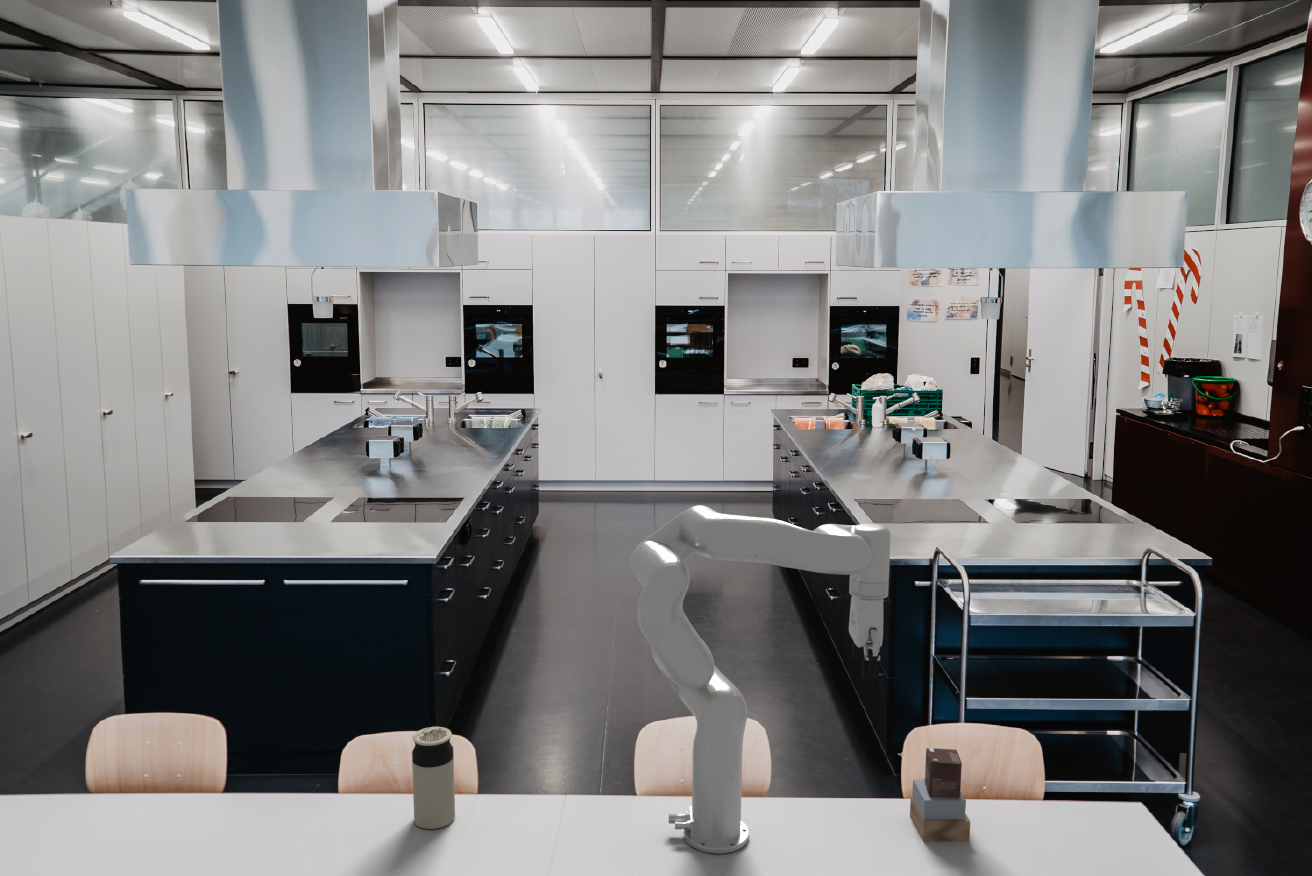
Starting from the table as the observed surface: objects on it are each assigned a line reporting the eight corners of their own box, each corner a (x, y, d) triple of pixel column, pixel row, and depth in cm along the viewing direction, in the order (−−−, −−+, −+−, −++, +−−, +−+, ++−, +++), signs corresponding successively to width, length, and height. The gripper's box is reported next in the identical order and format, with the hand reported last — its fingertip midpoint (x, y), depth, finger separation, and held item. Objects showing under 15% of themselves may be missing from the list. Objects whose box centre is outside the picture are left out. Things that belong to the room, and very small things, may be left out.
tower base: (922, 843, 184) (924, 821, 183) (909, 817, 193) (910, 797, 192) (969, 842, 184) (970, 821, 183) (953, 817, 193) (954, 796, 192)
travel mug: (463, 816, 191) (461, 732, 189) (434, 834, 185) (432, 747, 182) (435, 804, 195) (432, 722, 193) (405, 822, 189) (402, 737, 186)
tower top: (923, 819, 184) (924, 800, 183) (912, 797, 192) (913, 779, 191) (964, 819, 184) (966, 800, 183) (951, 798, 192) (952, 779, 191)
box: (960, 799, 184) (962, 763, 182) (928, 796, 184) (930, 761, 183) (955, 783, 190) (957, 749, 188) (924, 781, 190) (925, 746, 189)
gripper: (841, 573, 196) (838, 652, 199) (858, 600, 179) (855, 686, 182) (877, 574, 196) (874, 653, 199) (898, 600, 179) (894, 686, 182)
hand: (865, 669), depth 190 cm, fingers open, 9 cm apart
